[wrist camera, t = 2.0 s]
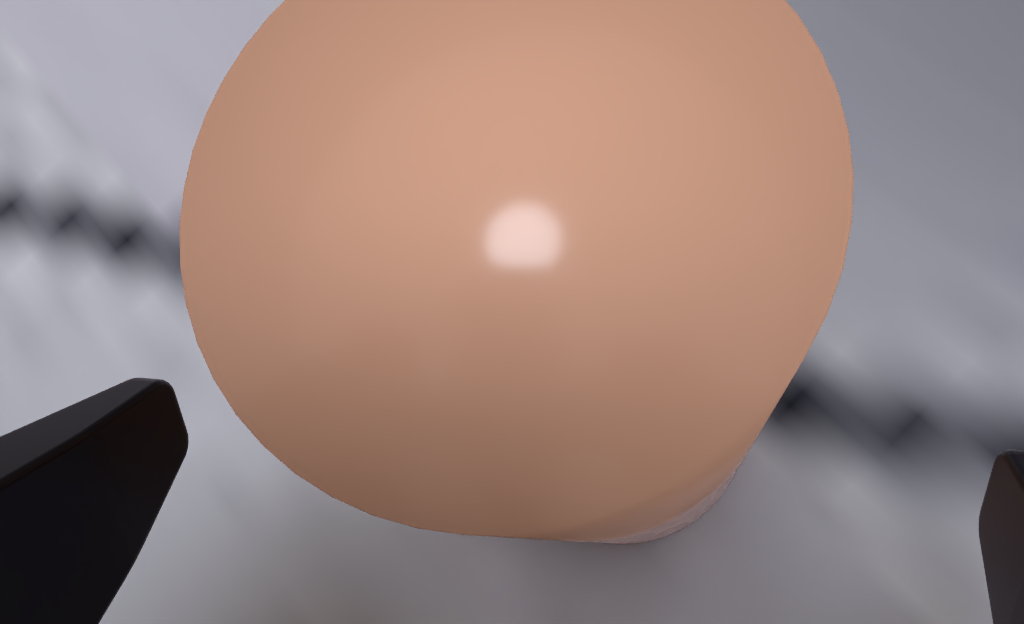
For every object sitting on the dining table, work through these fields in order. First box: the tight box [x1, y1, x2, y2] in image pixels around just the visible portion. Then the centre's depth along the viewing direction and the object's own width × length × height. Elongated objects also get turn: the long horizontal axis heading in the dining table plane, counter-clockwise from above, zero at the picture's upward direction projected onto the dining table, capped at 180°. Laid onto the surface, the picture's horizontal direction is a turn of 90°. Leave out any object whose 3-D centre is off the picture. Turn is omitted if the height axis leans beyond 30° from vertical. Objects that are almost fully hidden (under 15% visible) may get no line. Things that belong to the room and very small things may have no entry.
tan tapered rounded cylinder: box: [180, 0, 854, 544], centre depth 13 cm, size 5×5×12 cm
